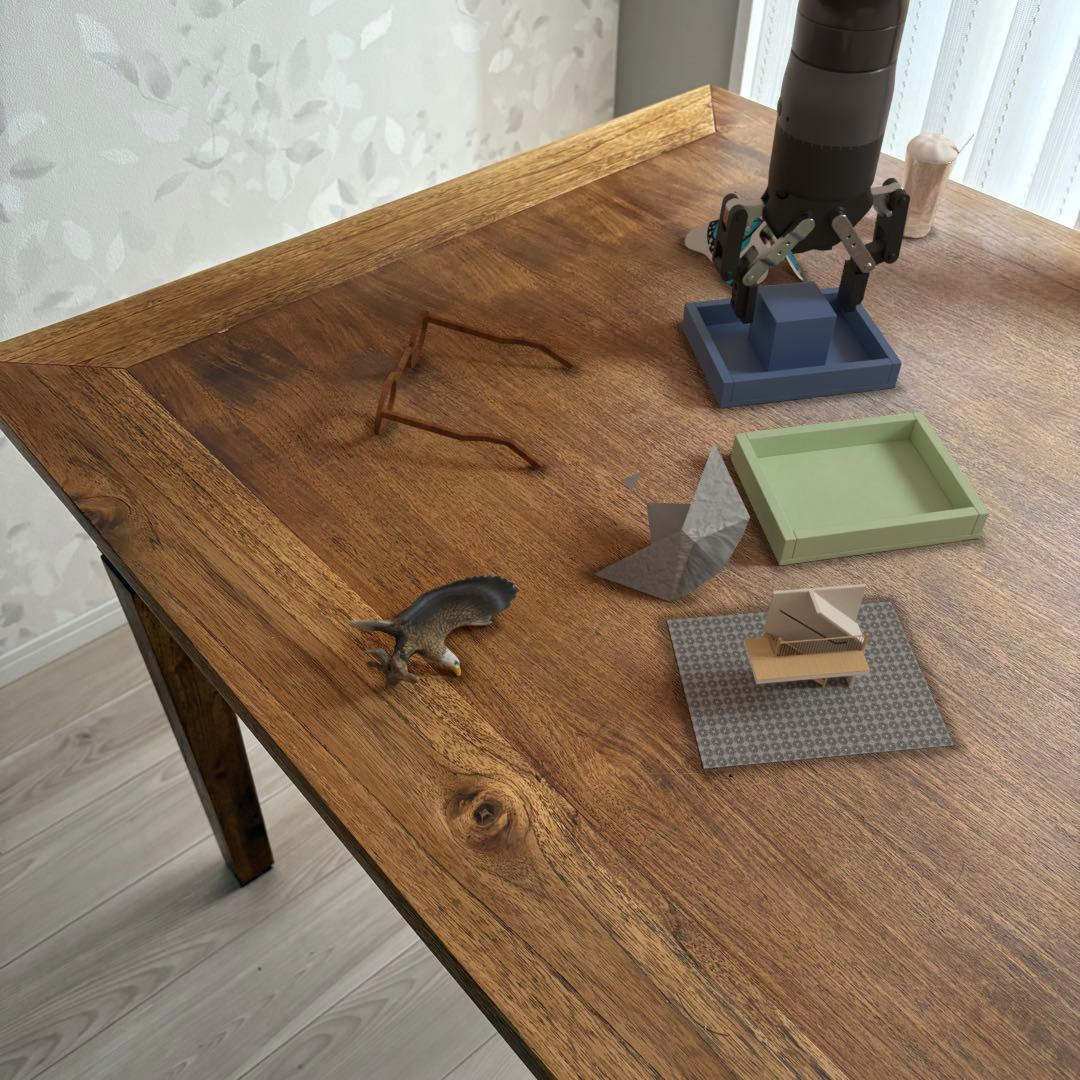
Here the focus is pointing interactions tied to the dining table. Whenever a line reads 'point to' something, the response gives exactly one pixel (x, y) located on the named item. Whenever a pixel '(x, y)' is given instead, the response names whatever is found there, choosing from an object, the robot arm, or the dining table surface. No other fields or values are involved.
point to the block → (791, 326)
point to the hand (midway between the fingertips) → (795, 312)
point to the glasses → (411, 362)
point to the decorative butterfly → (705, 240)
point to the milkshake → (926, 179)
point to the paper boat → (685, 537)
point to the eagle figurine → (437, 623)
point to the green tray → (855, 487)
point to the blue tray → (743, 380)
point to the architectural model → (804, 680)
